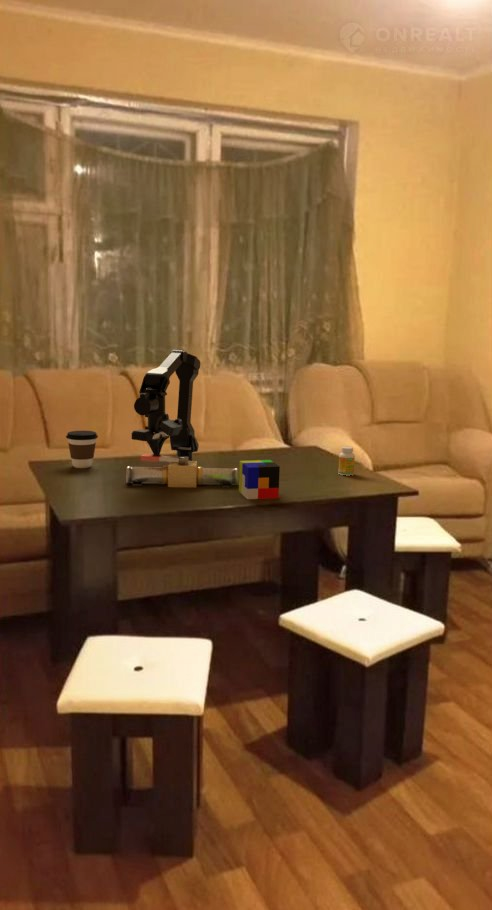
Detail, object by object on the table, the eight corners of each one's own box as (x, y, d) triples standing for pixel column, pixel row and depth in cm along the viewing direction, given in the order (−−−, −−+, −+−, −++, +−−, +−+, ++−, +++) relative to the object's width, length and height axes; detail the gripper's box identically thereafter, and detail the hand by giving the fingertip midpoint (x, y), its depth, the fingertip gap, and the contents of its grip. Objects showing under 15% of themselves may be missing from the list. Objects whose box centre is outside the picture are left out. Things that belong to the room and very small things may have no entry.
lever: (189, 461, 258) (189, 456, 258) (186, 463, 255) (186, 458, 255) (144, 458, 261) (144, 453, 260) (140, 460, 257) (140, 455, 257)
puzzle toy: (247, 499, 242) (248, 467, 240) (238, 491, 251) (239, 460, 249) (278, 498, 245) (279, 466, 243) (269, 490, 254) (270, 459, 252)
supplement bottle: (346, 476, 276) (347, 449, 274) (335, 473, 280) (336, 446, 279) (356, 475, 280) (358, 447, 278) (345, 472, 284) (347, 445, 282)
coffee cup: (91, 470, 275) (91, 436, 272) (61, 468, 276) (61, 434, 274) (102, 464, 285) (102, 431, 283) (73, 462, 287) (72, 429, 285)
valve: (127, 480, 261) (127, 458, 260) (237, 482, 263) (237, 460, 262) (125, 486, 253) (125, 464, 252) (238, 488, 255) (238, 466, 254)
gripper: (157, 417, 246) (157, 466, 249) (193, 409, 261) (193, 456, 264) (129, 413, 252) (130, 461, 255) (167, 406, 267) (167, 451, 270)
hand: (156, 457), depth 261 cm, fingers closed
